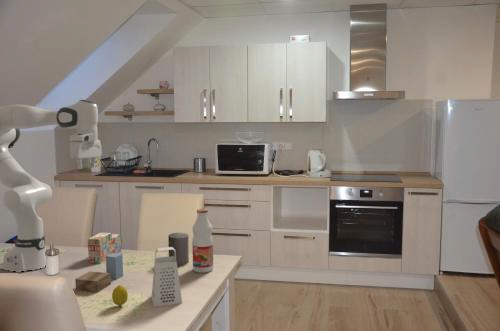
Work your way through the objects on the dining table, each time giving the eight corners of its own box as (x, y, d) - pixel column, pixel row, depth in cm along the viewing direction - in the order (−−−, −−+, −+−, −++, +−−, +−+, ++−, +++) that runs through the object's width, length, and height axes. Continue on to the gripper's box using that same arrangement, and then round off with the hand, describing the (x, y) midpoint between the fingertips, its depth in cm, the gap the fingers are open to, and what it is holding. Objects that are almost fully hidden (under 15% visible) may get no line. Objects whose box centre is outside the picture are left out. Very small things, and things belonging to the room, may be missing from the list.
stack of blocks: (110, 251, 247) (109, 228, 246) (121, 251, 246) (120, 228, 244) (88, 263, 226) (87, 238, 225) (100, 263, 225) (99, 238, 223)
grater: (182, 303, 176) (181, 251, 174) (153, 306, 173) (152, 253, 171) (178, 293, 186) (177, 244, 184) (151, 296, 183) (150, 246, 181)
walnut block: (75, 291, 190) (75, 279, 189) (90, 282, 199) (89, 271, 199) (97, 293, 187) (97, 281, 187) (111, 284, 197) (110, 273, 196)
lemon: (114, 303, 176) (113, 282, 175) (129, 303, 176) (128, 282, 176) (111, 309, 170) (110, 288, 170) (126, 308, 171) (125, 287, 170)
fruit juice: (217, 269, 215) (216, 209, 212) (201, 274, 208) (200, 212, 205) (205, 265, 221) (204, 206, 219) (188, 269, 215) (187, 209, 212)
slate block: (106, 278, 204) (105, 256, 203) (113, 274, 208) (112, 253, 207) (116, 279, 202) (115, 257, 201) (123, 276, 207) (122, 254, 206)
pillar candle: (164, 262, 225) (163, 232, 224) (180, 258, 232) (180, 228, 231) (177, 267, 219) (176, 236, 217) (193, 262, 226) (192, 232, 224)
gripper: (93, 136, 218) (92, 166, 219) (67, 136, 198) (66, 169, 199) (105, 137, 216) (104, 167, 217) (80, 137, 196) (79, 170, 197)
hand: (86, 168), depth 208 cm, fingers open, 8 cm apart
